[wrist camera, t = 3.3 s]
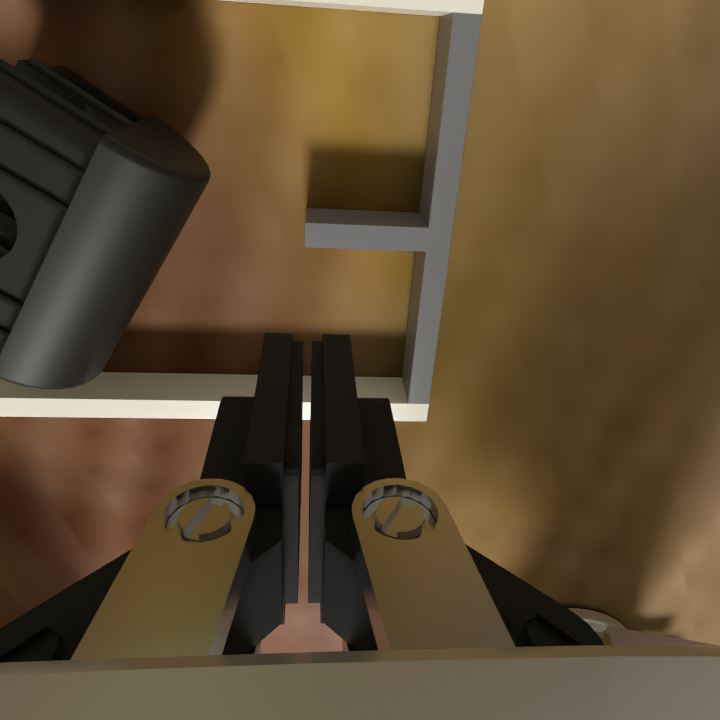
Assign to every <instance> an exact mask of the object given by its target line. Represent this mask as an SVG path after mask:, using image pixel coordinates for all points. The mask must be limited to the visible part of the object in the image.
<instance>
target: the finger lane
mask: <svg viewBox="0 0 720 720" xmlns="http://www.w3.org/2000/svg"><path fill="white" fill-rule="evenodd" d="M221 1H235V2H249V3H263V4H277V5H291V6H305V7H319V8H333V9H346V10H360V11H374V12H388V13H402V14H416V15H430V16H440V22H439V32H438V41H437V50H436V60H435V69H434V78H433V88H432V97H431V106H430V116H429V125H428V134H427V144H426V153H425V163H424V172H423V181H422V191H421V200H420V209H419V213H418V212H395V211H371V210H348V209H324V208H306V220H305V247H312V248H339V249H367V250H394V251H415V256H414V265H413V275H412V284H411V294H410V303H409V312H408V322H407V331H406V340H405V350H404V359H403V368H402V377H355V382H356V390H357V398H388V399H389V401H390V405H391V409H392V414H393V419H394V421H427V414H428V407H429V399H430V392H431V385H432V377H433V370H434V363H435V355H436V348H437V341H438V333H439V326H440V319H441V312H442V304H443V297H444V290H445V282H446V275H447V268H448V260H449V253H450V246H451V238H452V231H453V224H454V217H455V209H456V202H457V195H458V187H459V180H460V173H461V165H462V158H463V151H464V143H465V136H466V129H467V122H468V114H469V107H470V100H471V92H472V85H473V78H474V70H475V63H476V56H477V48H478V41H479V34H480V26H481V19H482V12H483V5H484V0H221ZM257 377H258V375H243V374H187V373H132V372H101V373H100V374H99V375H98V376H97V377H96V378H95V379H93V380H91V381H90V382H88V383H86V384H84V385H81V386H77V387H74V388H67V389H39V388H32V387H25V386H22V385H18V384H14V383H10V382H7V381H5V380H2V379H0V416H14V417H100V418H186V419H216V417H217V413H218V409H219V405H220V401H221V399H222V397H223V396H243V397H254V395H255V389H256V383H257ZM310 415H311V376H303V410H302V420H310Z"/></svg>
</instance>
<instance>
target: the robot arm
mask: <svg viewBox="0 0 720 720" xmlns="http://www.w3.org/2000/svg"><path fill="white" fill-rule="evenodd" d="M302 410H303V341H293V334H283V333H265V336H264V342H263V348H262V353H261V359H260V365H259V371H258V377H257V383H256V389H255V395H254V397H243V396H223V397H222V399H221V401H220V405H219V409H218V413H217V417H216V420H215V424H214V428H213V432H212V436H211V440H210V443H209V447H208V451H207V455H206V459H205V463H204V467H203V470H202V474H201V478H200V480H196V481H191V482H188V483H186V484H183V485H181V486H179V487H176V488H175V489H173V490H172V491H170V492H169V493H168V494H166V495H165V496H164V497H163V498H162V499H161V500H160V502H159V503H158V504H157V505H156V507H155V508H154V510H153V512H152V514H151V515H150V517H149V519H148V521H147V523H146V524H145V526H144V528H143V530H142V532H141V533H140V535H139V537H138V539H137V541H136V542H135V544H134V546H133V548H132V549H131V550H129V551H128V552H126V553H124V554H123V555H121V556H119V557H118V558H116V559H114V560H113V561H111V562H110V563H108V564H106V565H105V566H103V567H101V568H100V569H98V570H96V571H95V572H93V573H91V574H90V575H88V576H86V577H85V578H83V579H81V580H80V581H78V582H76V583H75V584H73V585H71V586H70V587H68V588H67V589H65V590H63V591H62V592H60V593H58V594H57V595H55V596H53V597H52V598H50V599H48V600H47V601H45V602H43V603H42V604H40V605H38V606H37V607H35V608H33V609H32V610H30V611H28V612H27V613H25V614H24V615H22V616H20V617H19V618H17V619H15V620H14V621H12V622H10V623H9V624H7V625H5V626H4V627H2V628H1V629H0V720H720V646H717V645H712V644H706V643H701V642H695V641H690V640H685V639H679V638H674V637H668V636H663V635H658V634H652V633H647V632H641V631H636V630H630V629H626V628H625V627H624V626H623V625H622V624H621V623H620V622H619V621H617V620H616V619H614V618H612V617H610V616H608V615H606V614H603V613H599V612H596V611H592V610H586V609H578V608H566V607H564V606H563V605H561V604H560V603H558V602H557V601H555V600H553V599H552V598H550V597H549V596H547V595H545V594H544V593H542V592H541V591H539V590H537V589H536V588H534V587H533V586H531V585H529V584H528V583H526V582H525V581H523V580H521V579H520V578H518V577H517V576H515V575H513V574H512V573H510V572H509V571H507V570H506V569H504V568H502V567H501V566H499V565H498V564H496V563H494V562H493V561H491V560H490V559H488V558H486V557H485V556H483V555H482V554H480V553H478V552H477V551H475V550H474V549H472V548H470V547H469V546H467V545H466V544H465V543H464V541H463V539H462V537H461V535H460V533H459V530H458V528H457V526H456V524H455V522H454V520H453V518H452V516H451V514H450V512H449V510H448V508H447V506H446V504H445V503H444V502H443V500H442V499H441V497H440V496H439V495H438V494H437V493H435V492H434V491H433V490H432V489H430V488H429V487H427V486H425V485H423V484H420V483H418V482H416V481H412V480H407V479H406V476H405V471H404V467H403V462H402V457H401V452H400V448H399V443H398V438H397V433H396V428H395V424H394V419H393V414H392V409H391V405H390V401H389V399H388V398H357V390H356V382H355V373H354V365H353V357H352V349H351V340H350V335H332V334H323V337H322V341H312V363H311V415H310V473H309V564H308V603H320V611H321V623H325V624H326V625H327V626H328V627H329V628H331V629H332V630H333V631H334V632H335V633H336V634H338V635H339V636H340V637H341V638H342V639H343V641H342V645H343V651H342V652H307V653H273V654H260V653H261V640H263V639H264V638H265V637H266V636H267V635H268V634H269V633H271V632H272V631H273V630H274V629H275V628H276V627H278V626H279V625H280V624H284V620H285V604H288V603H298V576H299V542H300V508H301V474H302Z"/></svg>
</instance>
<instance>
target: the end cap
mask: <svg viewBox="0 0 720 720" xmlns="http://www.w3.org/2000/svg"><path fill="white" fill-rule="evenodd" d="M209 179H210V171H209V167H208V165H207V163H206V162H205V160H204V159H203V157H202V156H201V155H200V154H199V153H198V151H197V150H196V149H195V148H194V147H193V146H192V145H191V144H190V143H189V142H187V141H186V140H185V139H184V138H183V137H182V136H180V135H179V134H178V133H177V132H175V131H174V130H173V129H171V128H170V127H169V126H167V125H166V124H165V123H163V122H162V121H160V120H159V119H157V118H156V117H154V116H150V117H147V118H145V119H144V118H143V117H141V116H140V115H138V114H136V113H135V112H133V111H132V110H130V109H129V108H127V107H126V106H124V105H123V104H121V103H120V102H118V101H117V100H115V99H114V98H112V97H111V96H109V95H107V94H106V93H104V92H103V91H101V90H100V89H98V88H97V87H95V86H94V85H92V84H91V83H89V82H88V81H86V80H85V79H83V78H82V77H80V76H79V75H77V74H75V73H74V72H72V71H71V70H69V69H67V68H64V67H62V66H55V67H47V66H46V65H44V64H42V63H41V62H39V61H38V60H36V59H28V60H18V61H17V64H16V67H13V66H12V65H10V64H8V63H7V62H5V61H4V60H2V59H0V351H2V352H1V354H0V379H2V380H5V381H7V382H10V383H14V384H18V385H22V386H25V387H32V388H39V389H67V388H74V387H77V386H81V385H84V384H86V383H88V382H90V381H91V380H93V379H95V378H96V377H97V376H98V375H99V374H100V373H101V372H102V371H103V369H104V367H105V366H106V364H107V362H108V360H109V358H110V357H111V355H112V353H113V351H114V349H115V348H116V346H117V344H118V342H119V341H120V339H121V337H122V335H123V333H124V332H125V330H126V328H127V326H128V325H129V323H130V321H131V319H132V317H133V316H134V314H135V312H136V310H137V308H138V307H139V305H140V303H141V301H142V300H143V298H144V296H145V294H146V292H147V291H148V289H149V287H150V285H151V284H152V282H153V280H154V278H155V276H156V275H157V273H158V271H159V269H160V267H161V266H162V264H163V262H164V260H165V259H166V257H167V255H168V253H169V251H170V250H171V248H172V246H173V244H174V243H175V241H176V239H177V237H178V235H179V234H180V232H181V230H182V228H183V226H184V225H185V223H186V221H187V219H188V218H189V216H190V214H191V212H192V210H193V209H194V207H195V205H196V203H197V202H198V200H199V198H200V196H201V194H202V193H203V191H204V189H205V187H206V185H207V184H208V182H209Z"/></svg>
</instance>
